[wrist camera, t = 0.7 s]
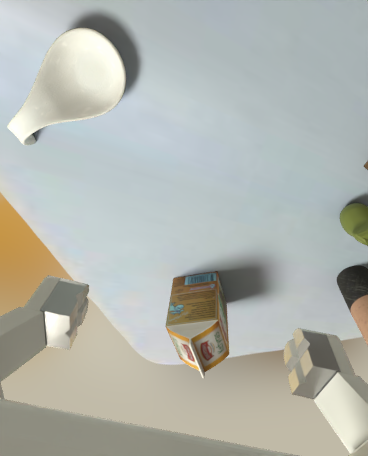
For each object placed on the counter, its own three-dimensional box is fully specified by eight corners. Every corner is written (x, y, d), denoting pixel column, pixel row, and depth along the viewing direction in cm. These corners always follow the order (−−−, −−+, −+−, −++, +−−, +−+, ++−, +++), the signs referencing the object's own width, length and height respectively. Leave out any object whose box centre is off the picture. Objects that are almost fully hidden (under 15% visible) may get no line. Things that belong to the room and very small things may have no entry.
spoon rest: (95, 10, 43) (76, 5, 37) (145, 83, 48) (135, 89, 42) (0, 105, 52) (-28, 114, 46) (50, 160, 57) (31, 174, 51)
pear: (342, 227, 59) (364, 258, 50) (330, 209, 57) (350, 238, 48) (370, 212, 57) (398, 242, 48) (359, 193, 55) (385, 220, 46)
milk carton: (226, 303, 73) (230, 376, 57) (185, 308, 75) (178, 381, 59) (217, 271, 68) (218, 342, 52) (173, 278, 70) (161, 348, 54)
